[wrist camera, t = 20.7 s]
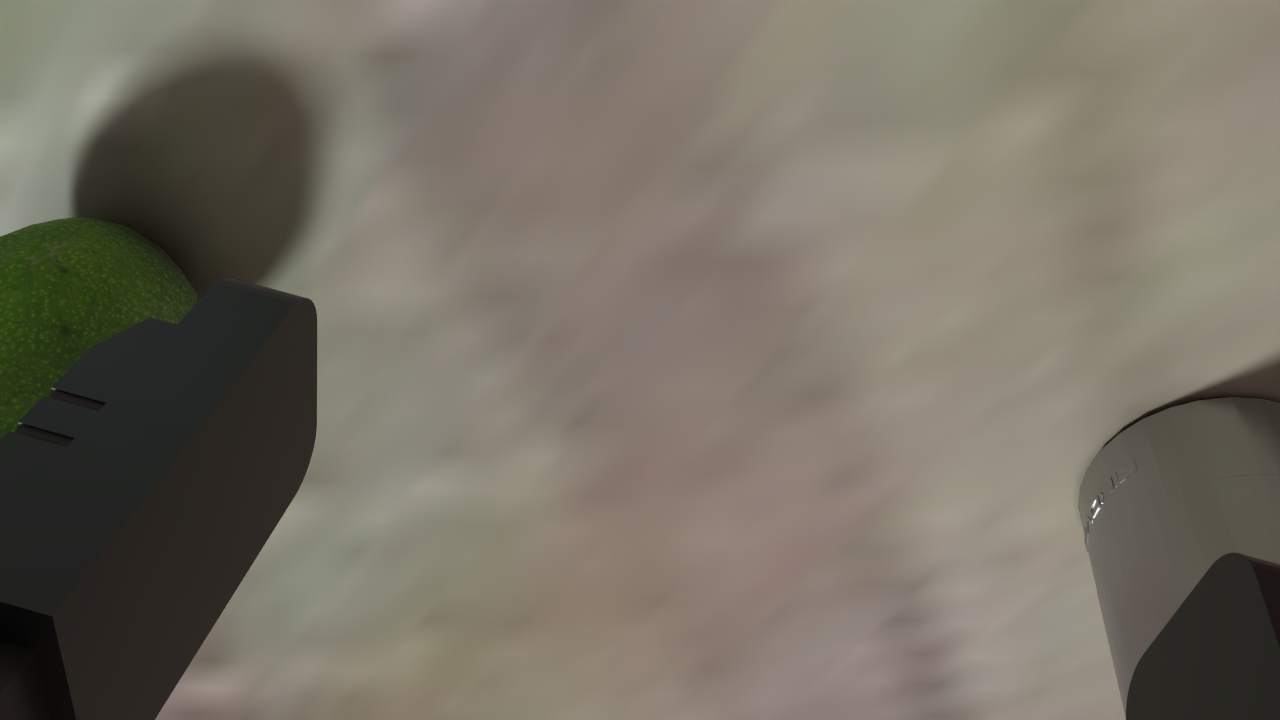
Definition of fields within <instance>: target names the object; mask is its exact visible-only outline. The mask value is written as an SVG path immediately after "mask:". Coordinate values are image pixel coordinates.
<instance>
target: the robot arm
mask: <svg viewBox="0 0 1280 720" xmlns="http://www.w3.org/2000/svg"><path fill="white" fill-rule="evenodd" d="M316 427H317V314H316V308H315V306H314V303H313V302H312V301H311V300H310V299H308V298H304V297H300V296H297V295H293V294H289V293H286V292H282V291H278V290H274V289H271V288H267V287H263V286H260V285H256V284H252V283H249V282H245V281H241V280H237V279H234V278H228V277H226V278H223V279H220V280H219V281H217V282H216V283H215V284H214V285H213V286H212V287H211V288H210V289H209V290H208V291H207V292H206V293H205V294H204V295H203V297H202V298H201V299H200V300H199V301H198V302H197V303H196V304H195V305H194V307H193V308H192V309H191V310H190V311H189V312H188V313H187V314H186V315H185V316H184V318H183V319H182V320H181V321H180V322H179V323H178V324H173V323H169V322H166V321H162V320H158V319H155V318H151V317H149V318H147V319H145V320H143V321H141V322H139V323H137V324H135V325H133V326H131V327H129V328H127V329H125V330H124V331H122V332H120V333H118V334H116V335H114V336H112V337H110V338H108V339H106V340H104V341H102V342H100V343H98V344H96V345H94V346H92V347H91V348H90V349H89V350H88V351H87V352H86V353H85V354H84V355H83V356H82V357H81V358H80V359H79V360H78V361H77V362H76V363H75V364H74V365H73V366H72V367H71V368H70V369H69V370H68V371H67V372H66V373H65V374H64V375H63V376H62V377H61V378H60V380H59V381H58V382H57V383H56V384H55V385H54V386H53V387H52V390H51V394H50V395H49V397H46V396H43V397H42V398H41V399H40V400H39V401H38V402H37V403H36V404H35V405H34V406H33V407H32V408H31V409H30V410H29V411H28V412H27V413H26V414H25V415H24V416H23V417H22V418H21V419H20V420H19V421H18V426H17V429H16V430H15V432H11V431H8V432H7V433H6V435H5V436H4V437H3V438H2V439H1V440H0V720H155V718H156V717H157V715H158V714H159V712H160V710H161V709H162V707H163V706H164V704H165V702H166V701H167V699H168V698H169V696H170V694H171V693H172V691H173V690H174V688H175V686H176V685H177V683H178V682H179V680H180V678H181V677H182V675H183V674H184V672H185V671H186V669H187V667H188V666H189V664H190V663H191V661H192V659H193V658H194V656H195V655H196V653H197V651H198V650H199V648H200V647H201V645H202V643H203V642H204V640H205V639H206V637H207V635H208V634H209V632H210V631H211V629H212V627H213V626H214V624H215V623H216V621H217V619H218V618H219V616H220V615H221V613H222V611H223V610H224V608H225V607H226V605H227V603H228V602H229V600H230V599H231V597H232V595H233V594H234V592H235V591H236V589H237V588H238V586H239V584H240V583H241V581H242V580H243V578H244V576H245V575H246V573H247V572H248V570H249V568H250V567H251V565H252V564H253V562H254V560H255V559H256V557H257V556H258V554H259V552H260V551H261V549H262V548H263V546H264V544H265V543H266V541H267V540H268V538H269V536H270V535H271V533H272V532H273V530H274V528H275V527H276V525H277V524H278V522H279V520H280V519H281V517H282V516H283V514H284V512H285V511H286V509H287V508H288V506H289V504H290V503H291V501H292V500H293V498H294V496H295V495H296V493H297V491H298V489H299V487H300V485H301V483H302V481H303V479H304V476H305V474H306V471H307V468H308V466H309V463H310V459H311V456H312V452H313V448H314V443H315V437H316ZM1078 507H1079V511H1080V515H1081V520H1082V524H1083V529H1084V537H1085V545H1086V550H1087V552H1088V553H1089V557H1090V561H1091V565H1092V570H1093V574H1094V579H1095V583H1096V588H1097V594H1098V599H1099V603H1100V607H1101V612H1102V616H1103V620H1104V625H1105V629H1106V633H1107V638H1108V642H1109V646H1110V651H1111V655H1112V660H1113V664H1114V668H1115V673H1116V677H1117V681H1118V686H1119V690H1120V694H1121V699H1122V703H1123V707H1124V712H1125V716H1126V720H1280V403H1279V402H1274V401H1269V400H1265V399H1259V398H1238V397H1226V398H1216V399H1207V400H1198V401H1194V402H1190V403H1186V404H1183V405H1179V406H1175V407H1171V408H1168V409H1165V410H1163V411H1161V412H1158V413H1156V414H1154V415H1151V416H1149V417H1146V418H1144V419H1142V420H1140V421H1139V422H1137V423H1135V424H1134V425H1132V426H1131V427H1129V428H1127V429H1126V430H1124V431H1123V432H1121V433H1119V434H1118V435H1117V436H1116V437H1115V438H1114V439H1113V440H1112V441H1110V442H1109V443H1108V444H1107V445H1106V446H1105V447H1104V448H1103V449H1102V450H1101V451H1100V452H1099V453H1098V455H1097V456H1096V458H1095V459H1094V460H1093V462H1092V463H1091V464H1090V466H1089V467H1088V469H1087V471H1086V474H1085V476H1084V479H1083V481H1082V484H1081V486H1080V494H1079V506H1078Z"/></svg>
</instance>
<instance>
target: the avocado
mask: <svg viewBox="0 0 1280 720" xmlns="http://www.w3.org/2000/svg"><path fill="white" fill-rule="evenodd" d="M197 302H198V298H197V293H196V291H195V290H194V288H193V287H192V285H191V284H190V282H189V281H188V279H187V278H186V276H185V275H184V274H183V272H182V271H181V270H180V268H179V267H178V266H177V265H176V264H175V263H174V262H173V261H172V260H171V258H170V257H169V256H168V255H167V254H166V253H165V252H164V251H163V250H162V249H161V248H160V247H158V246H157V245H155V244H154V243H152V242H151V241H149V240H148V239H146V238H145V237H143V236H142V235H140V234H139V233H137V232H136V231H134V230H133V229H131V228H129V227H127V226H124V225H120V224H116V223H112V222H107V221H103V220H99V219H95V218H91V217H87V216H86V217H76V218H67V219H58V220H53V221H48V222H44V223H39V224H34V225H30V226H28V227H25V228H22V229H20V230H17V231H14V232H12V233H9V234H7V235H4V236H1V237H0V440H1V439H2V438H3V437H4V436H5V435H6V433H7V432H8V431H11V432H15V430H16V429H17V426H18V421H19V420H20V419H21V418H22V417H23V416H24V415H25V414H26V413H27V412H28V411H29V410H30V409H31V408H32V407H33V406H34V405H35V404H36V403H37V402H38V401H39V400H40V399H41V398H42V397H43V396H46V397H49V395H50V394H51V390H52V387H53V386H54V385H55V384H56V383H57V382H58V381H59V380H60V378H61V377H62V376H63V375H64V374H65V373H66V372H67V371H68V370H69V369H70V368H71V367H72V366H73V365H74V364H75V363H76V362H77V361H78V360H79V359H80V358H81V357H82V356H83V355H84V354H85V353H86V352H87V351H88V350H89V349H90V348H91V347H92V346H94V345H96V344H98V343H100V342H102V341H104V340H106V339H108V338H110V337H112V336H114V335H116V334H118V333H120V332H122V331H124V330H125V329H127V328H129V327H131V326H133V325H135V324H137V323H139V322H141V321H143V320H145V319H147V318H149V317H151V318H155V319H158V320H162V321H166V322H169V323H173V324H178V323H179V322H180V321H181V320H182V319H183V318H184V316H185V315H186V314H187V313H188V312H189V311H190V310H191V309H192V308H193V307H194V305H195V304H196V303H197Z"/></svg>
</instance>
